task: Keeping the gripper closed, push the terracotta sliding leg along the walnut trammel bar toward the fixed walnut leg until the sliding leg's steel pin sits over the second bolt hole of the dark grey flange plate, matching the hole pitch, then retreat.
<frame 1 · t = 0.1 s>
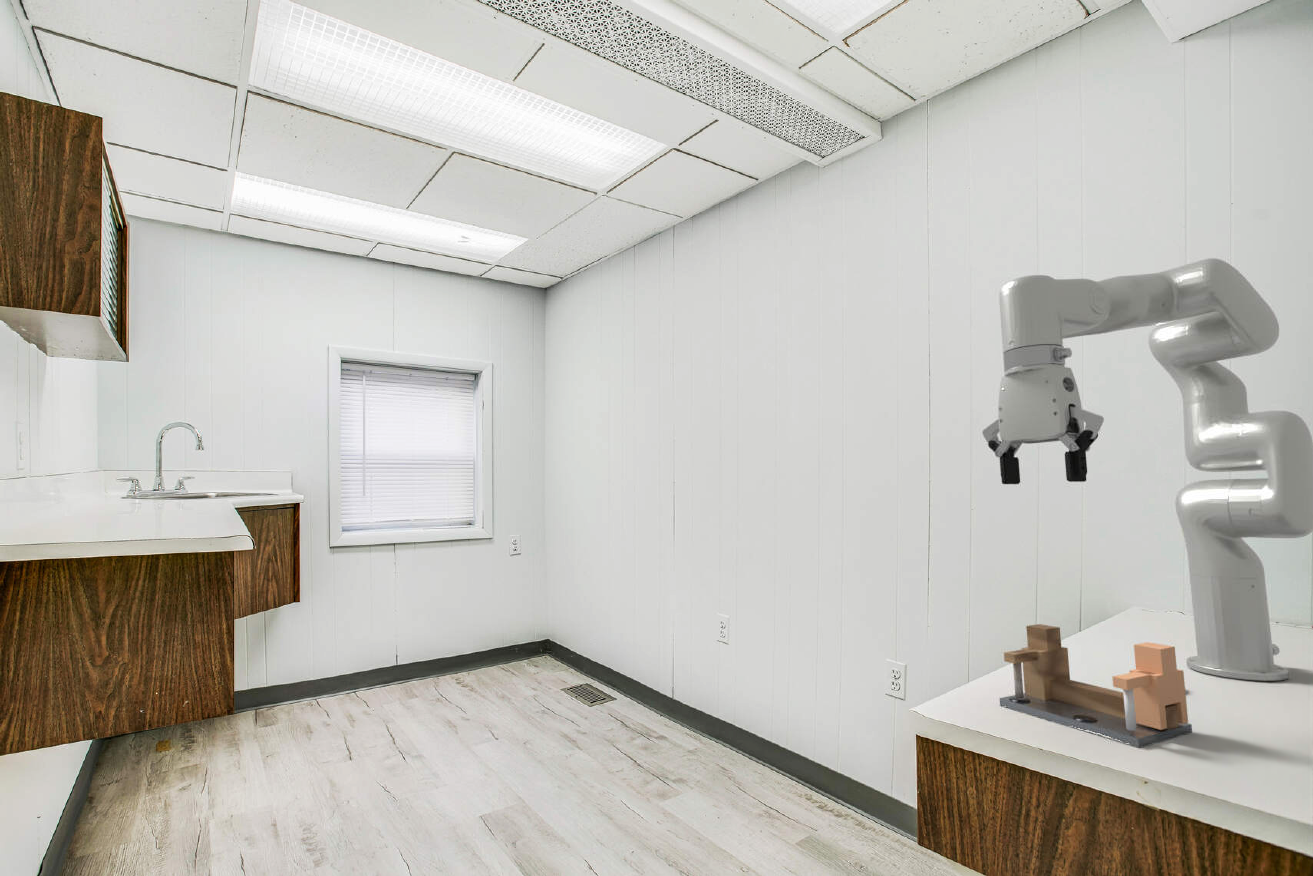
hand: (1042, 482, 92), 31 cm above the worktop, tool pointing down, fingers open, 9 cm apart
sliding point: (1146, 686, 80), point 6 cm above the worktop, slide at 0.0 cm
flange plate: (1089, 718, 86), on the worktop
trammel bar: (1099, 715, 87), resting on flange plate
adjustable wrench: (1128, 704, 94), on the worktop, touching flange plate, trammel bar
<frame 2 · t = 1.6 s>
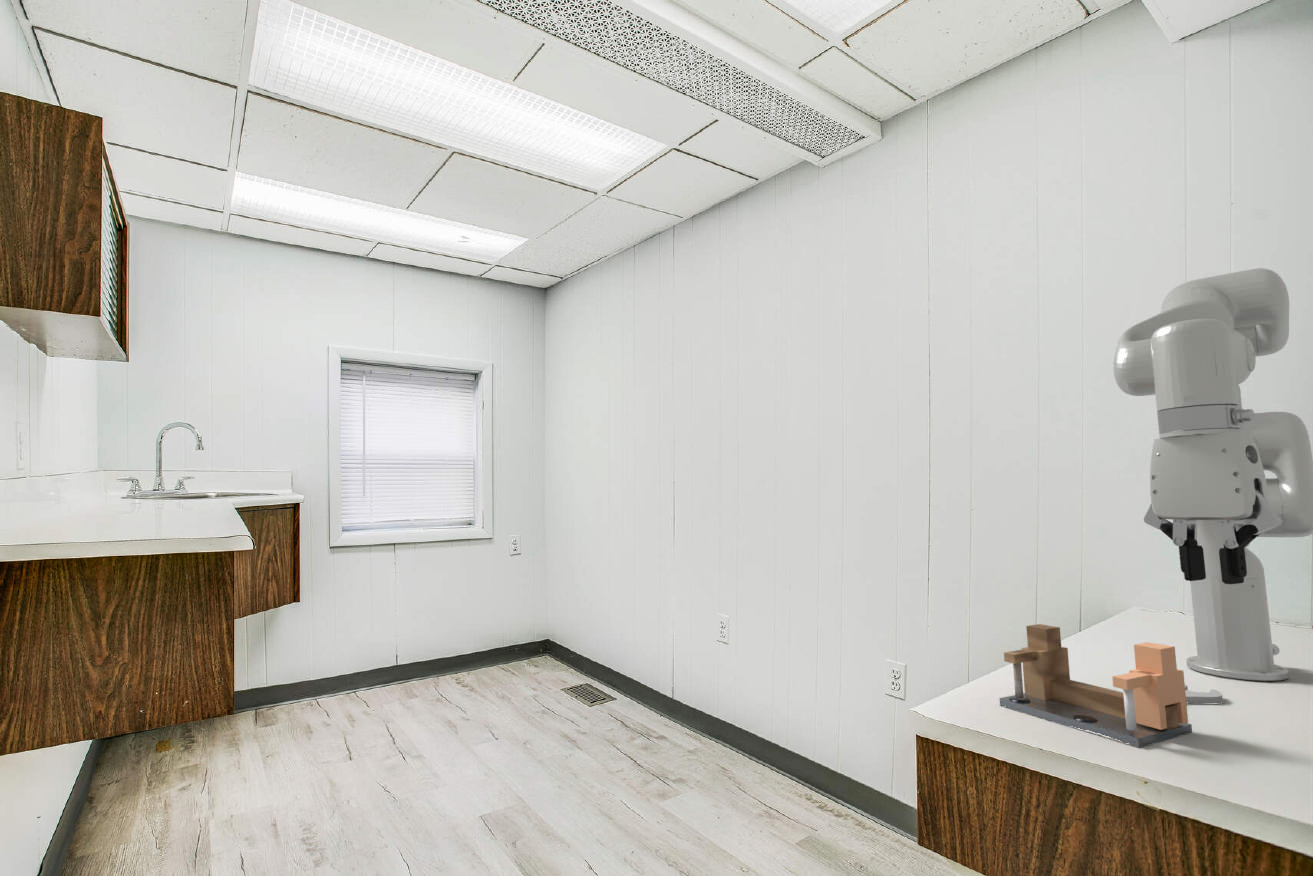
hand: (1213, 580, 76), 19 cm above the worktop, tool pointing down, fingers open, 3 cm apart
adjustable wrench: (1143, 709, 91), on the worktop, touching flange plate, trammel bar
everything else where it was.
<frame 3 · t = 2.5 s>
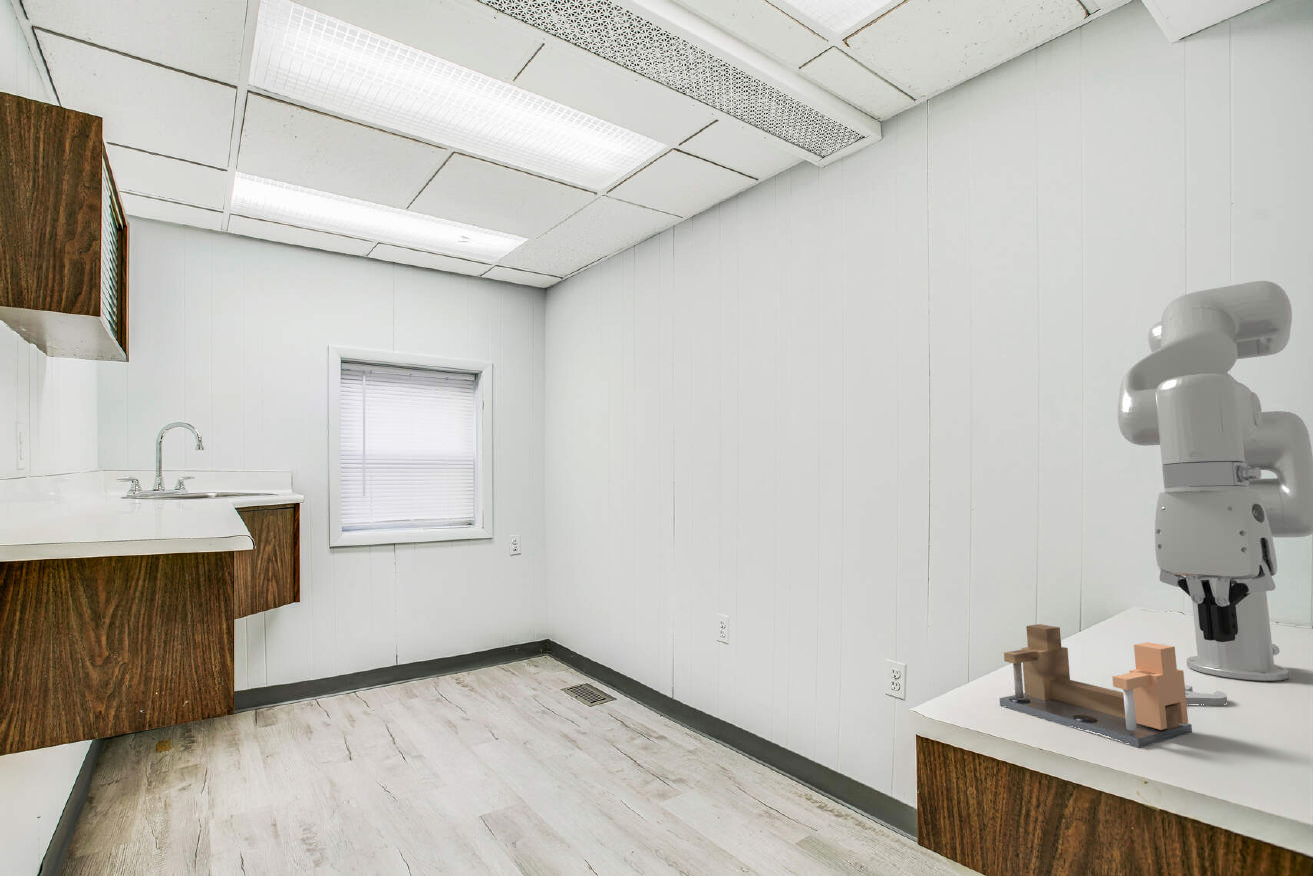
hand: (1219, 639, 74), 13 cm above the worktop, tool pointing down, fingers closed
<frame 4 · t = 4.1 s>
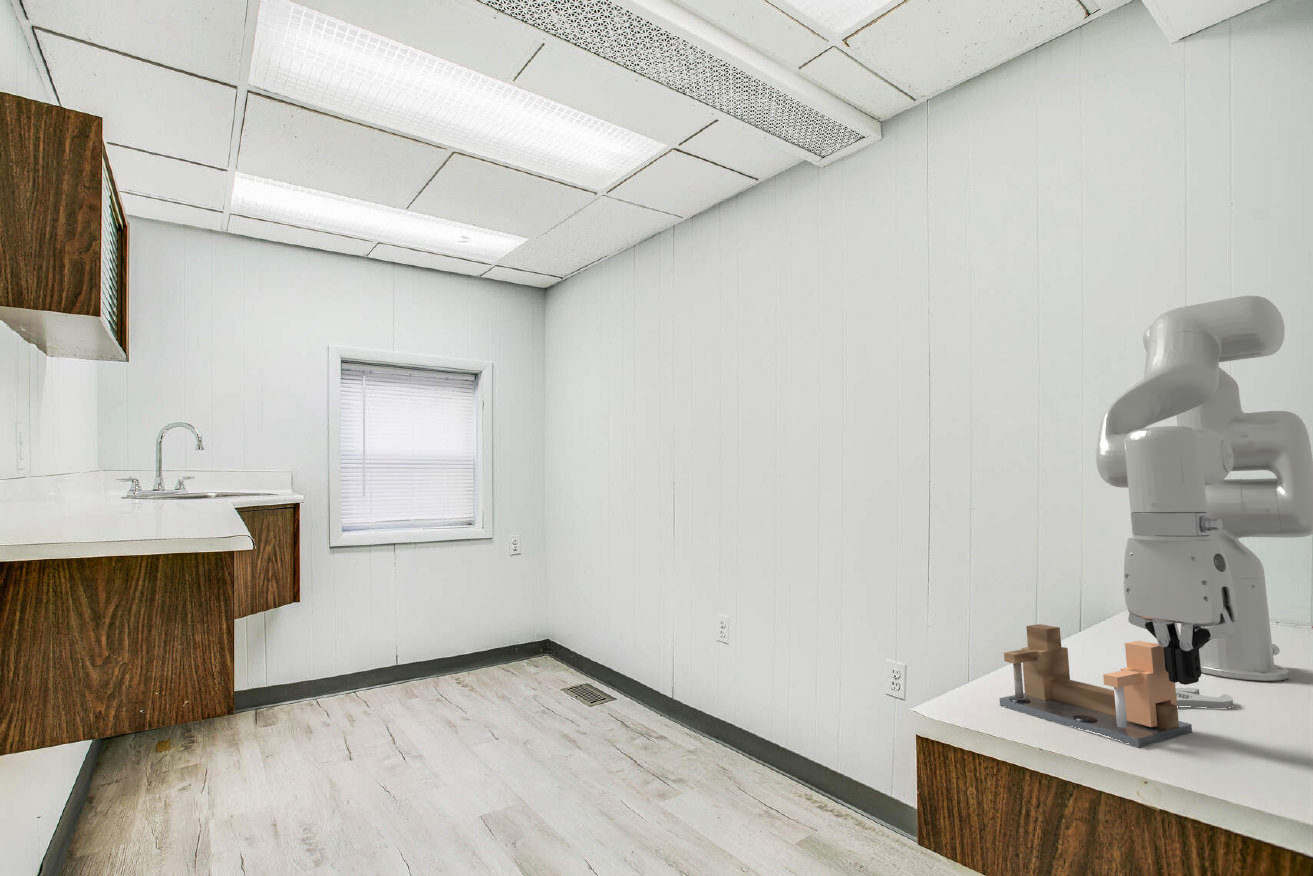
hand: (1184, 681, 78), 7 cm above the worktop, tool pointing down, fingers closed
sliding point: (1137, 684, 80), point 6 cm above the worktop, slide at 1.1 cm, touching gripper
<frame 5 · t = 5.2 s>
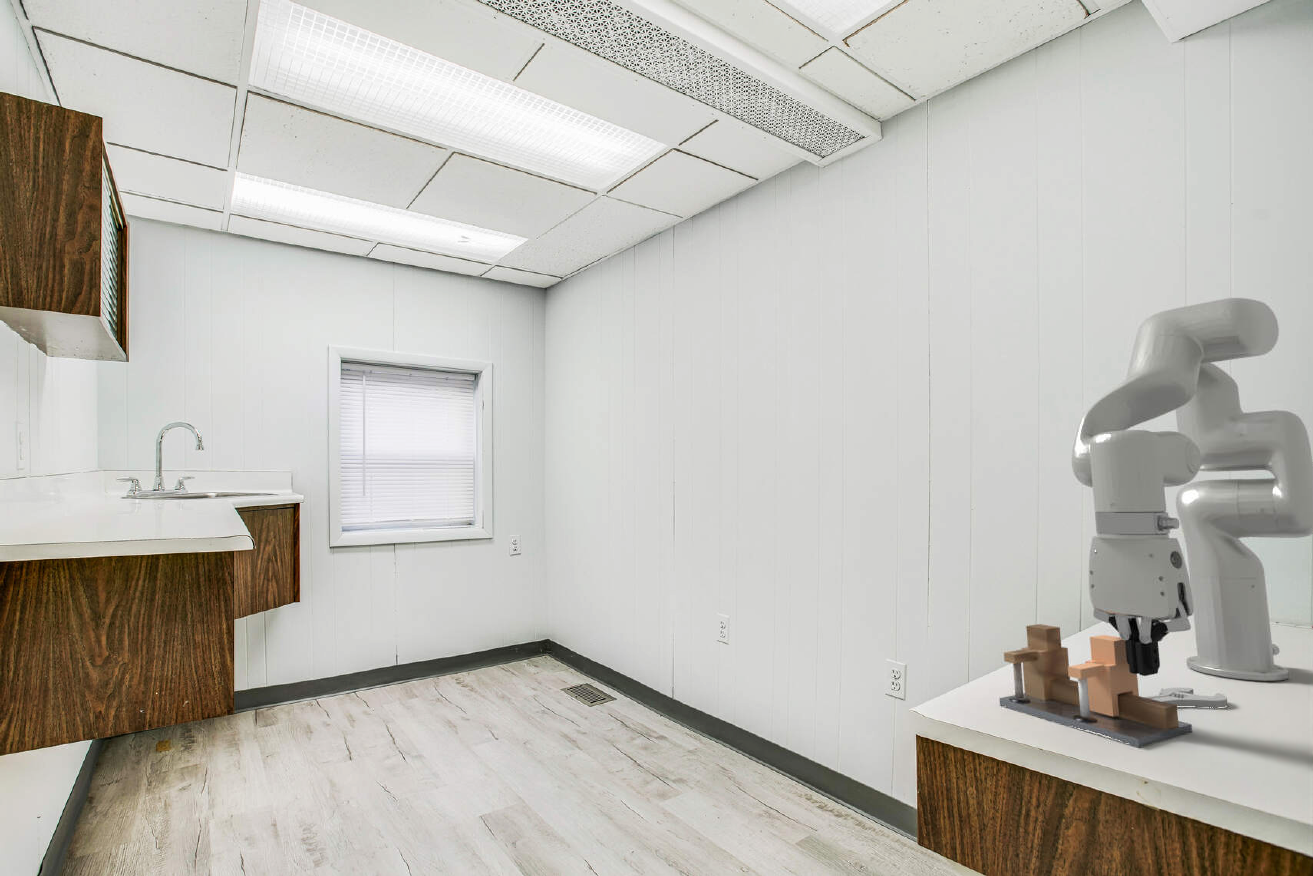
hand: (1144, 673, 82), 7 cm above the worktop, tool pointing down, fingers closed
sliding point: (1100, 676, 84), point 6 cm above the worktop, slide at 5.4 cm, touching gripper
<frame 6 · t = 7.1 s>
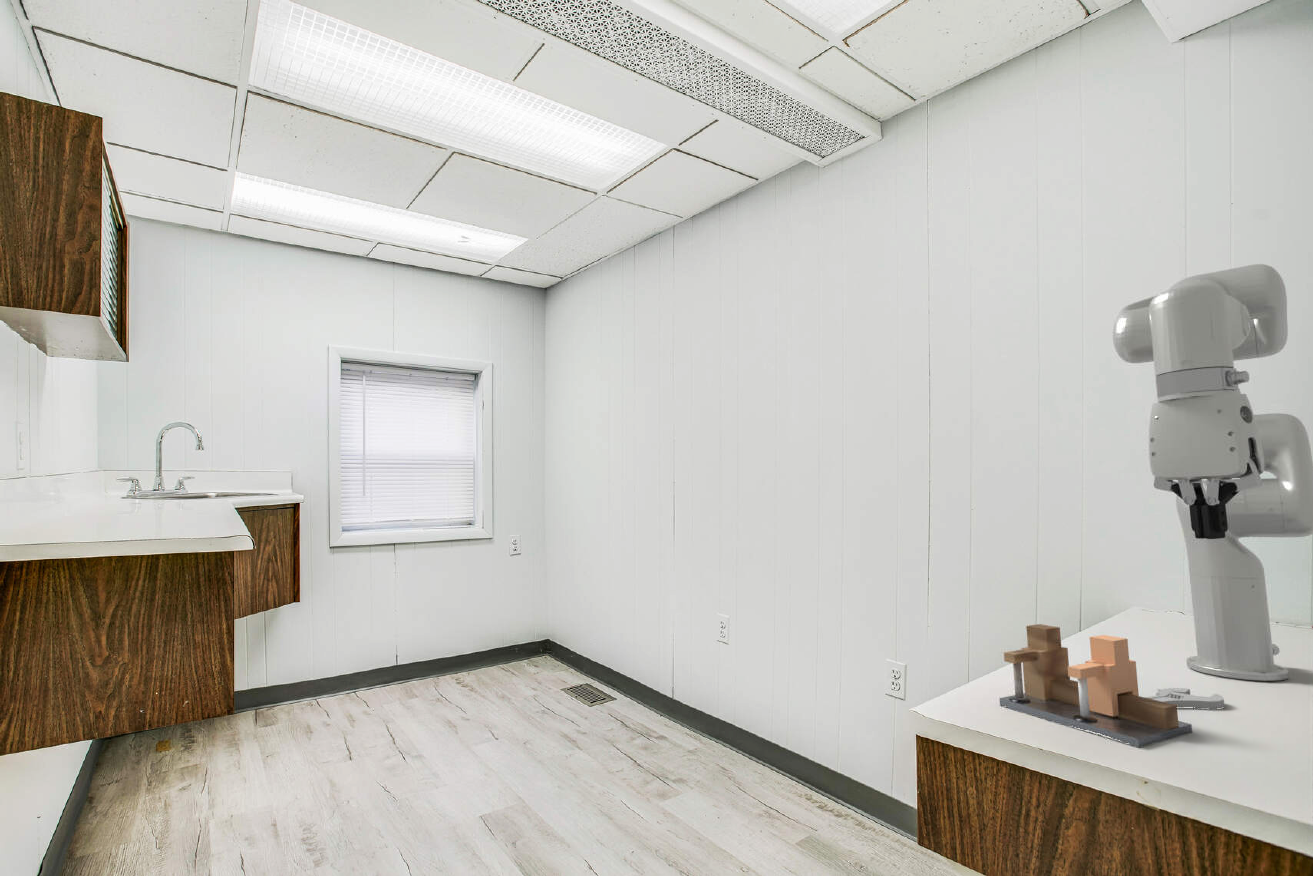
hand: (1210, 537, 78), 24 cm above the worktop, tool pointing down, fingers closed
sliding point: (1100, 676, 84), point 6 cm above the worktop, slide at 5.4 cm
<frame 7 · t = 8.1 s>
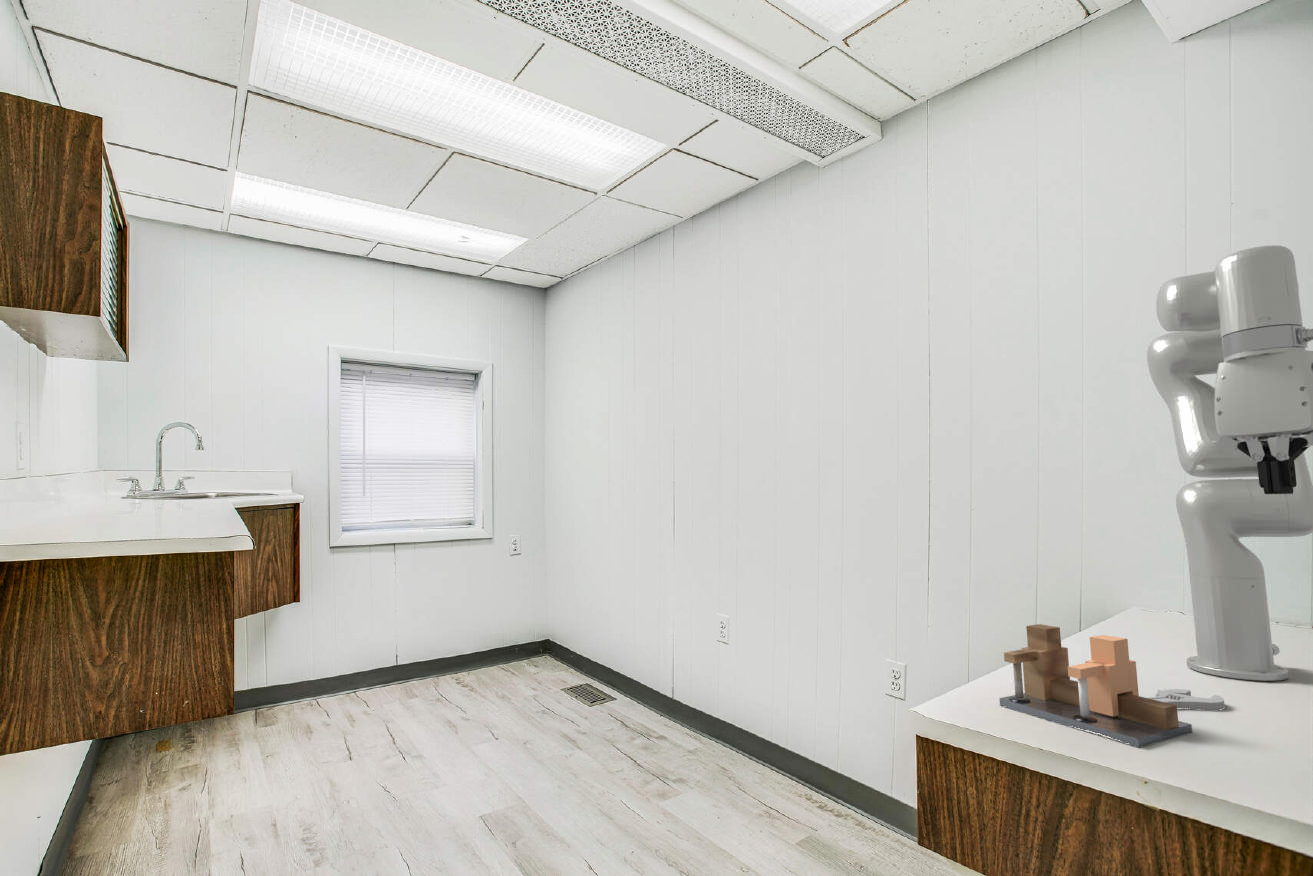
hand: (1278, 493, 80), 29 cm above the worktop, tool pointing down, fingers closed
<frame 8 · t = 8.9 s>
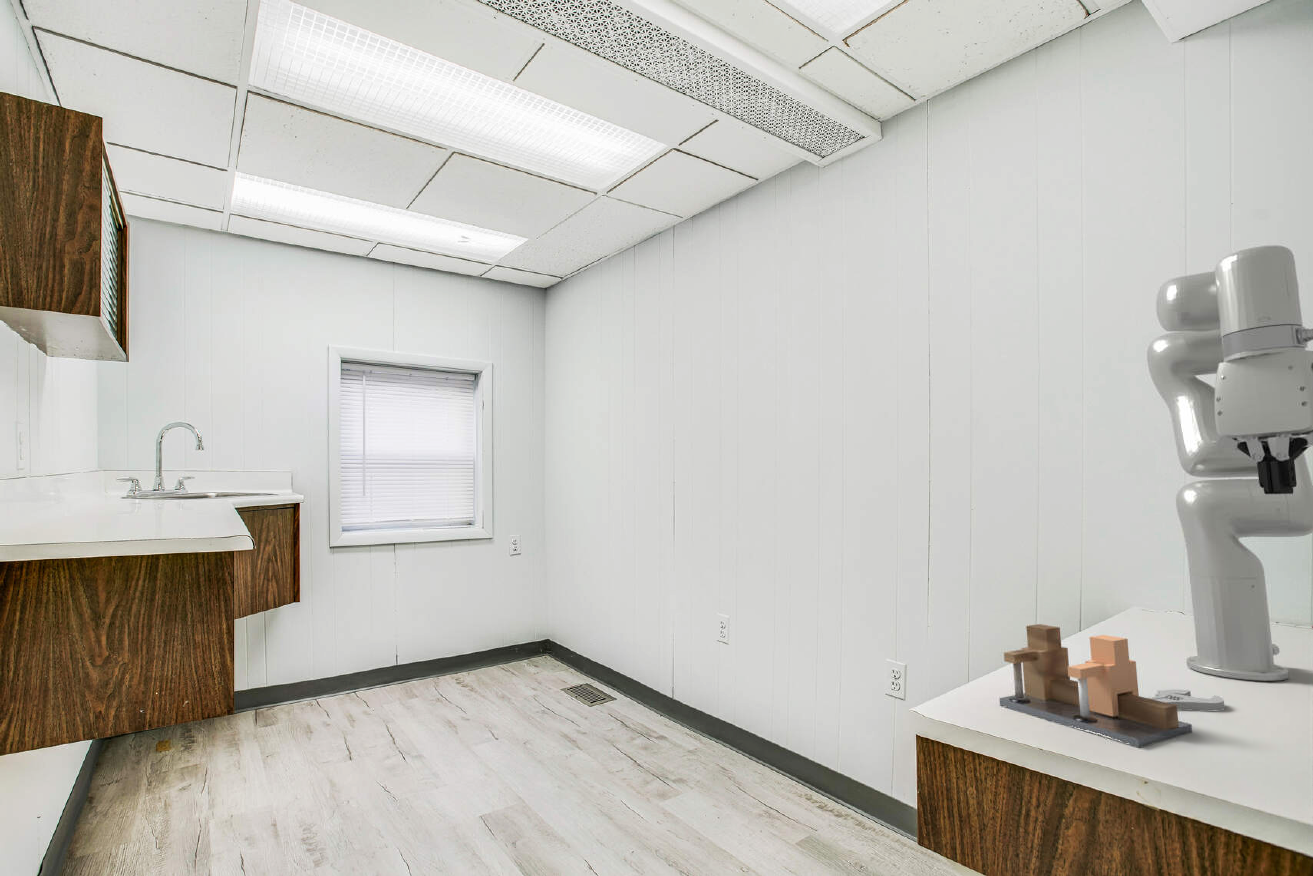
hand: (1278, 493, 80), 29 cm above the worktop, tool pointing down, fingers closed
at the end: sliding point slide at 5.4 cm; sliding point moved 5.4 cm from its start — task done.
